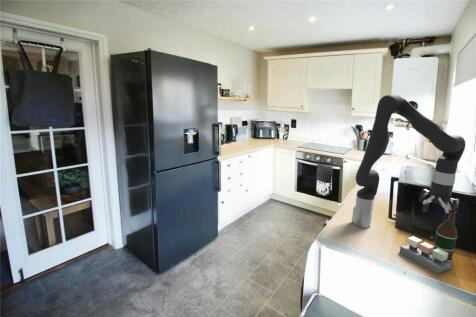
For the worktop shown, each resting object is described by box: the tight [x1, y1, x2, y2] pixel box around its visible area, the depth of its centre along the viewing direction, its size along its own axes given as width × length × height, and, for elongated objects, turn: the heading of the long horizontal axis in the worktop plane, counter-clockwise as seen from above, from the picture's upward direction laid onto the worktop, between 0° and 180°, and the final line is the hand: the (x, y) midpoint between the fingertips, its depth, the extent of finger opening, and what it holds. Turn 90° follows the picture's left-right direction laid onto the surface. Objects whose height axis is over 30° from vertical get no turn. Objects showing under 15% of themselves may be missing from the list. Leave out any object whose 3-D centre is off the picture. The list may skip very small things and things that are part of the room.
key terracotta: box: [419, 241, 435, 254], centre depth 118 cm, size 4×4×3 cm
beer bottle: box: [433, 206, 459, 260], centre depth 120 cm, size 8×8×24 cm
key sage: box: [432, 248, 448, 261], centre depth 113 cm, size 4×4×3 cm
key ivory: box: [406, 235, 423, 248], centre depth 123 cm, size 4×4×3 cm
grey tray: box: [399, 244, 452, 274], centre depth 118 cm, size 17×9×5 cm, turn 25°
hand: (434, 215), depth 114 cm, fingers open, 8 cm apart
